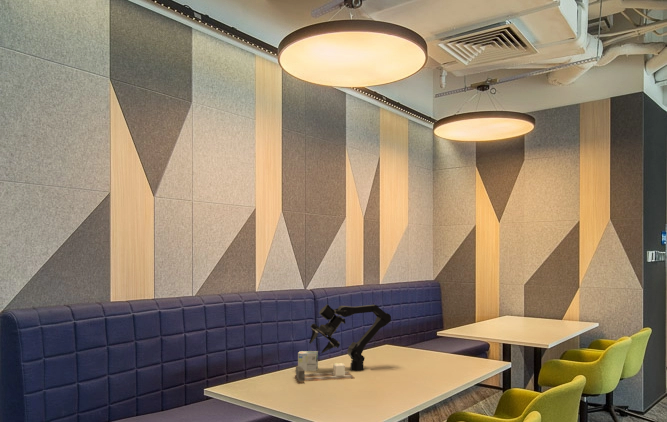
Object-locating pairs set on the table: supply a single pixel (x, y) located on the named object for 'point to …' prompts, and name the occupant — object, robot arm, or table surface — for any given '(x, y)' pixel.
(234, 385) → the table surface
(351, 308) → the robot arm
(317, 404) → the table surface
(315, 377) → the track board
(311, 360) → the light bulb box
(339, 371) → the cream white cube
